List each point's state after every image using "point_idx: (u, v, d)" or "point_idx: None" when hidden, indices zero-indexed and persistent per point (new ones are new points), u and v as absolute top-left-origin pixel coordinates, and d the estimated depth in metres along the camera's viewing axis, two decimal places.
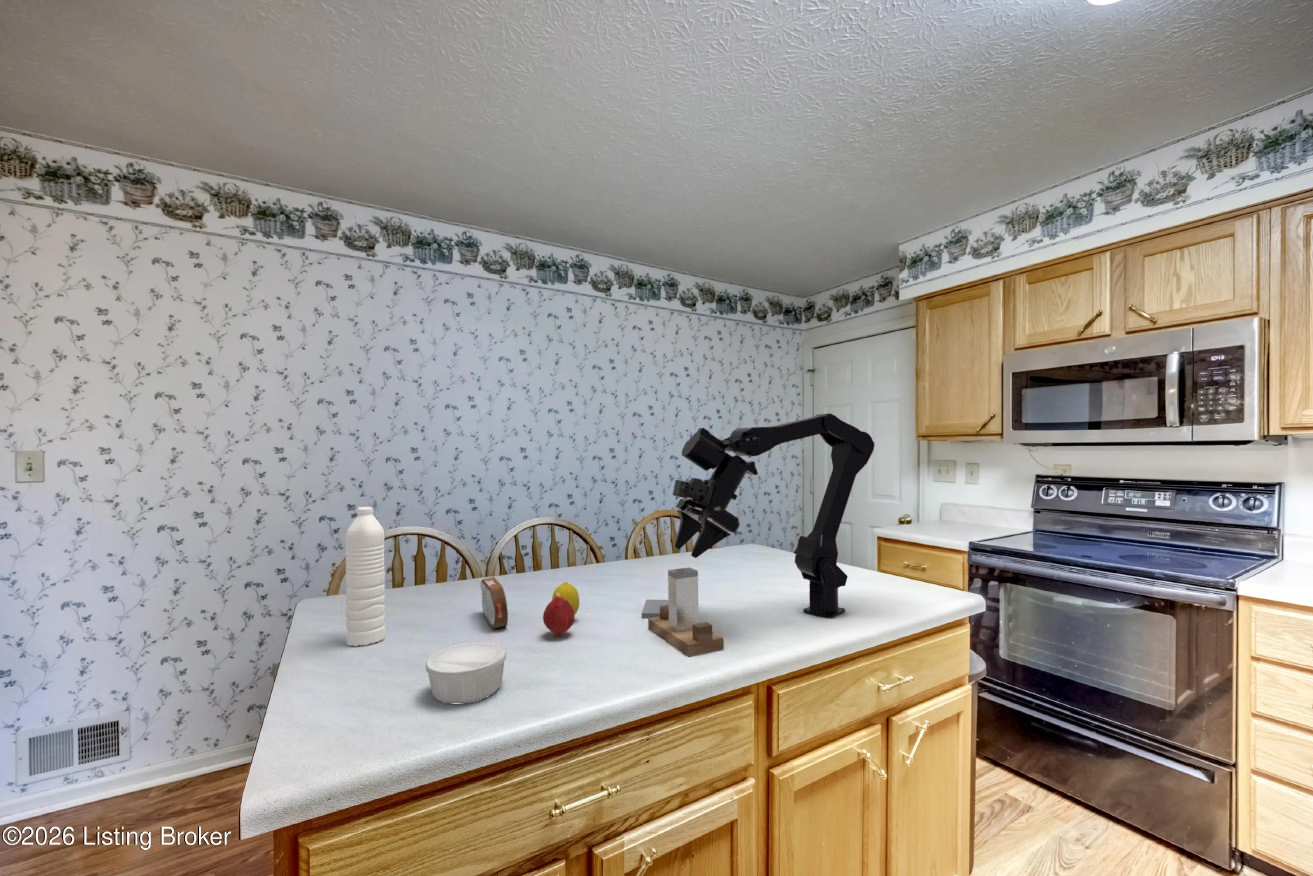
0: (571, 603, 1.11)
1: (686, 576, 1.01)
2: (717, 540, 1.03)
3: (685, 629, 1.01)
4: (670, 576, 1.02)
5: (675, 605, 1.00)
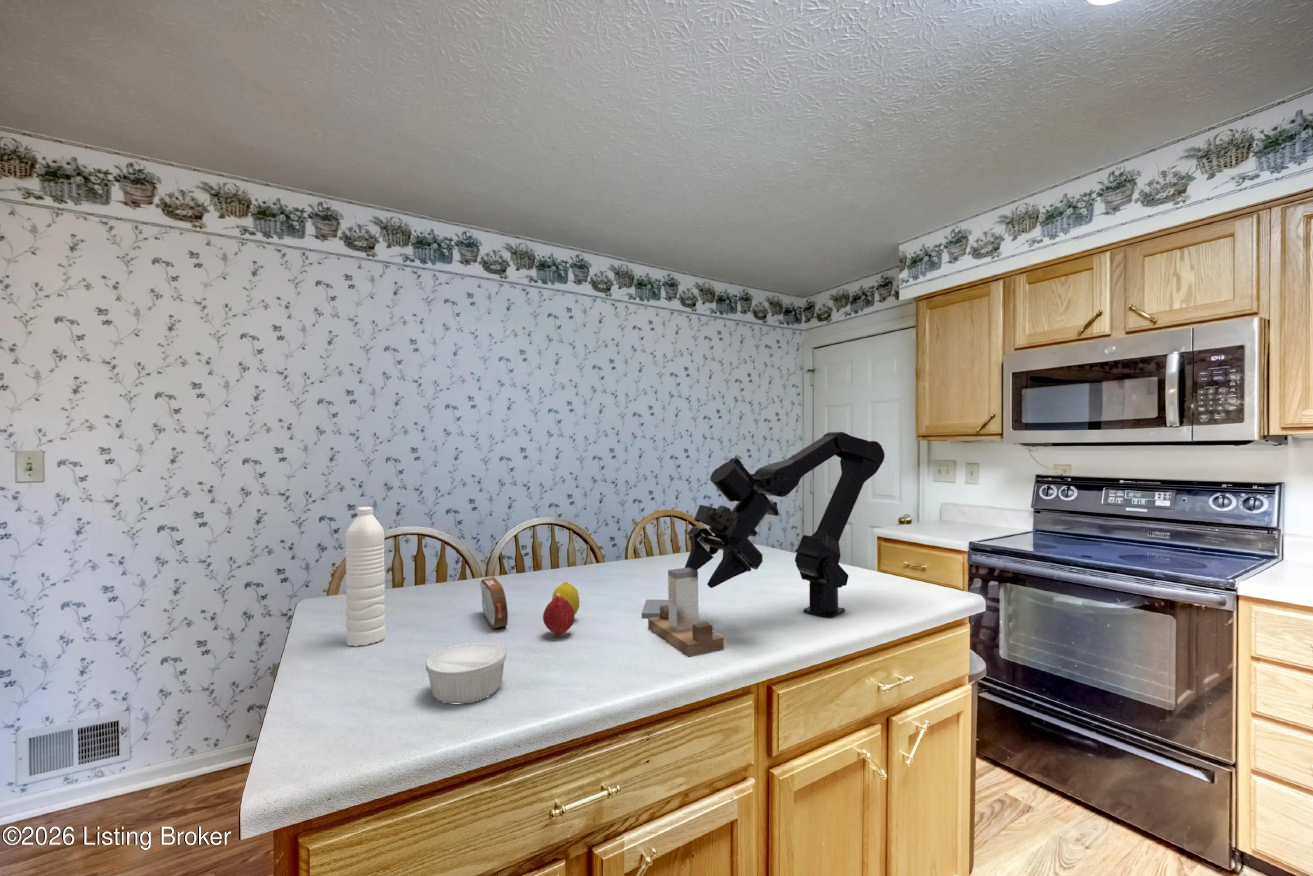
0: (571, 603, 1.11)
1: (686, 576, 1.01)
2: (736, 573, 1.00)
3: (685, 629, 1.01)
4: (670, 576, 1.02)
5: (675, 605, 1.00)
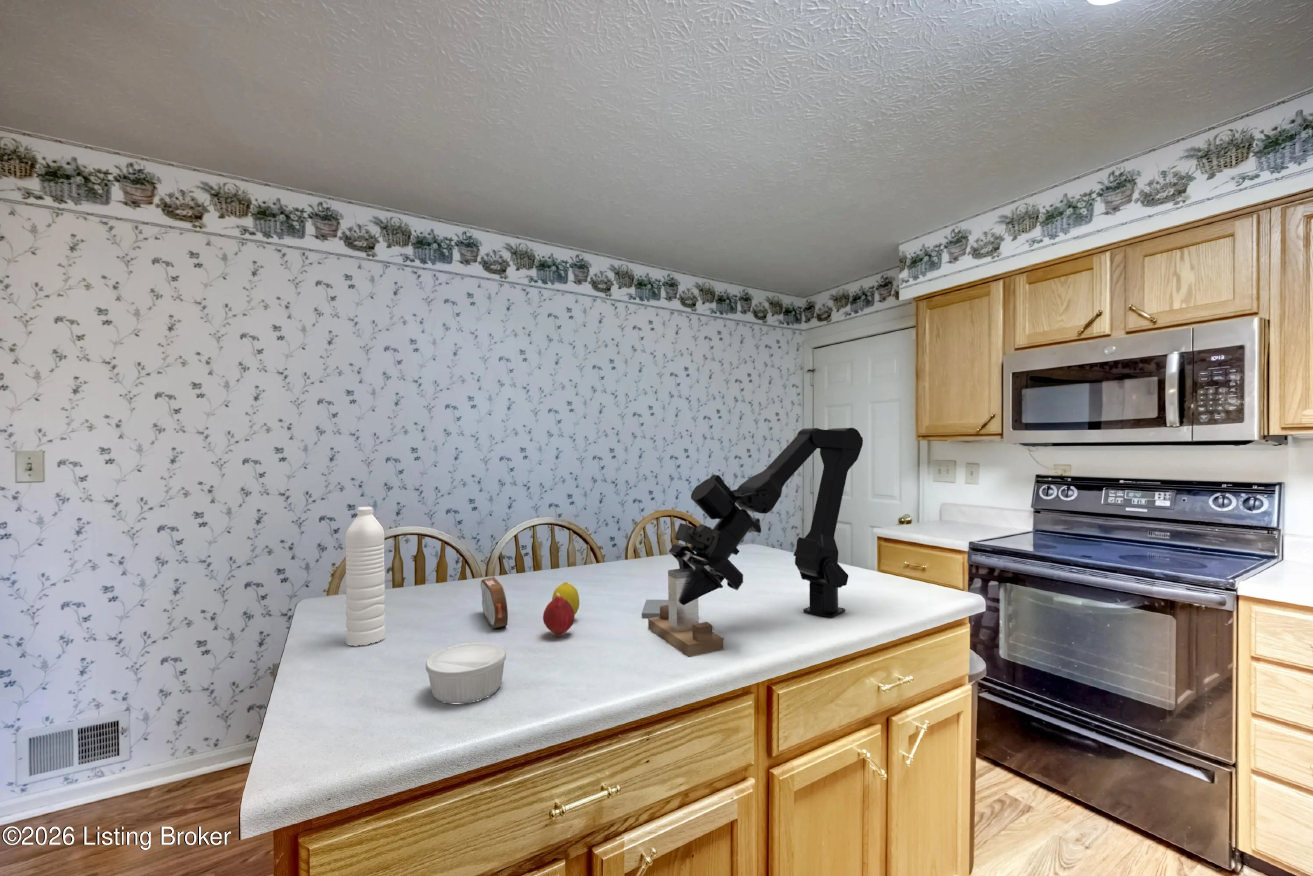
0: (571, 603, 1.11)
1: (686, 576, 1.01)
2: (708, 590, 1.01)
3: (685, 629, 1.01)
4: (670, 576, 1.02)
5: (675, 605, 1.00)
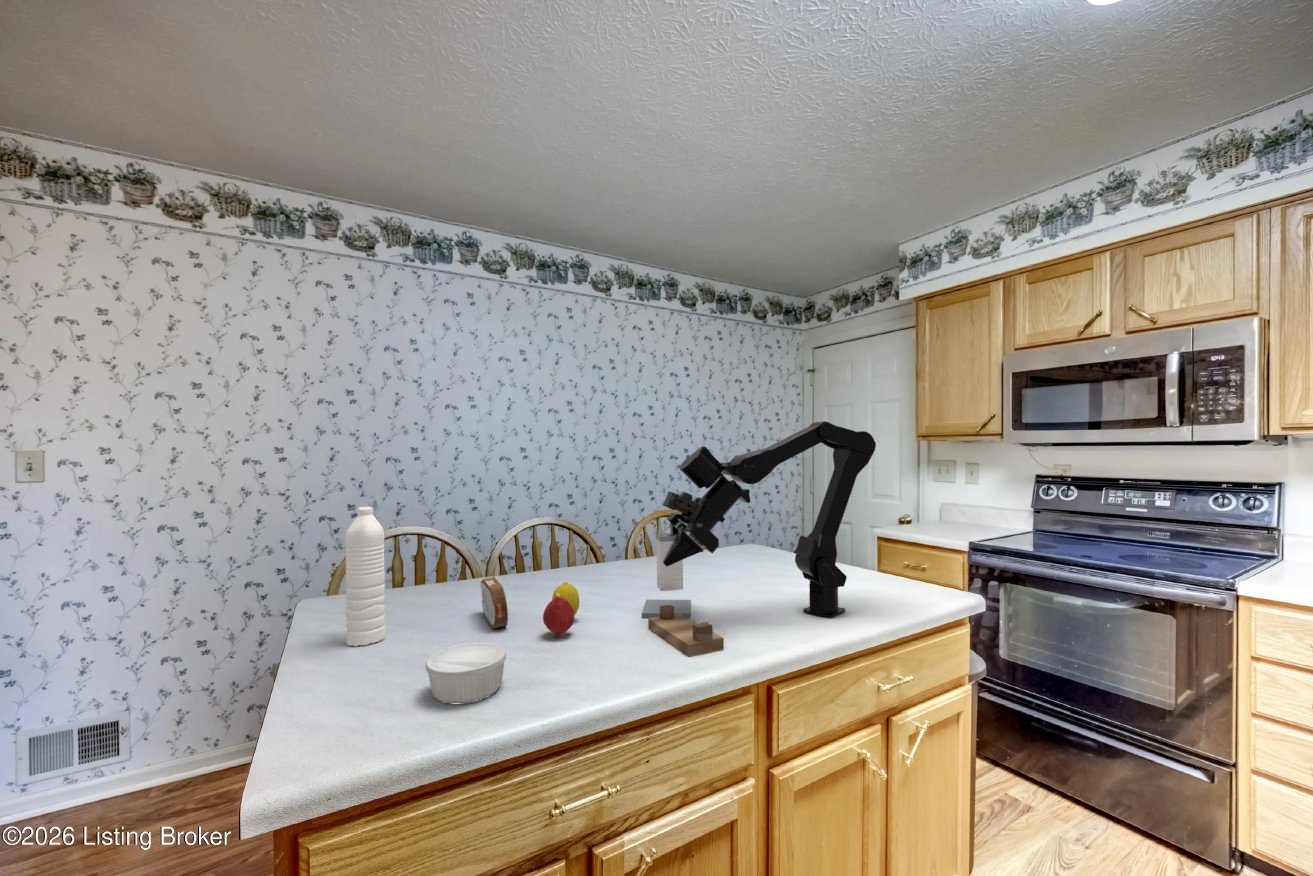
0: (571, 603, 1.11)
1: (670, 540, 1.08)
2: (690, 554, 1.07)
3: (669, 589, 1.08)
4: (657, 540, 1.10)
5: (659, 566, 1.08)
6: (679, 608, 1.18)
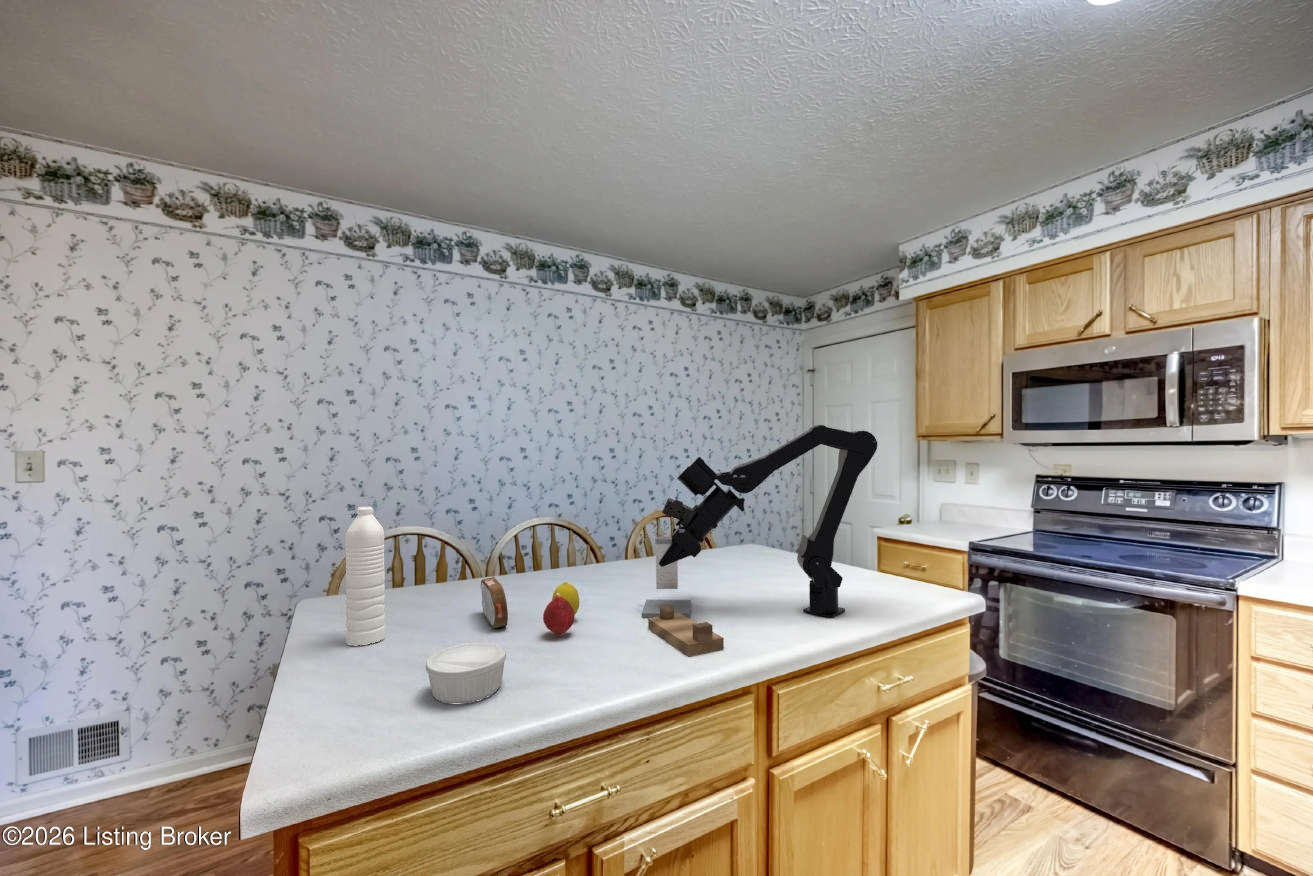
0: (571, 603, 1.11)
1: (665, 542, 1.18)
2: (682, 556, 1.16)
3: (664, 588, 1.18)
4: None
5: (656, 566, 1.18)
6: (679, 608, 1.18)
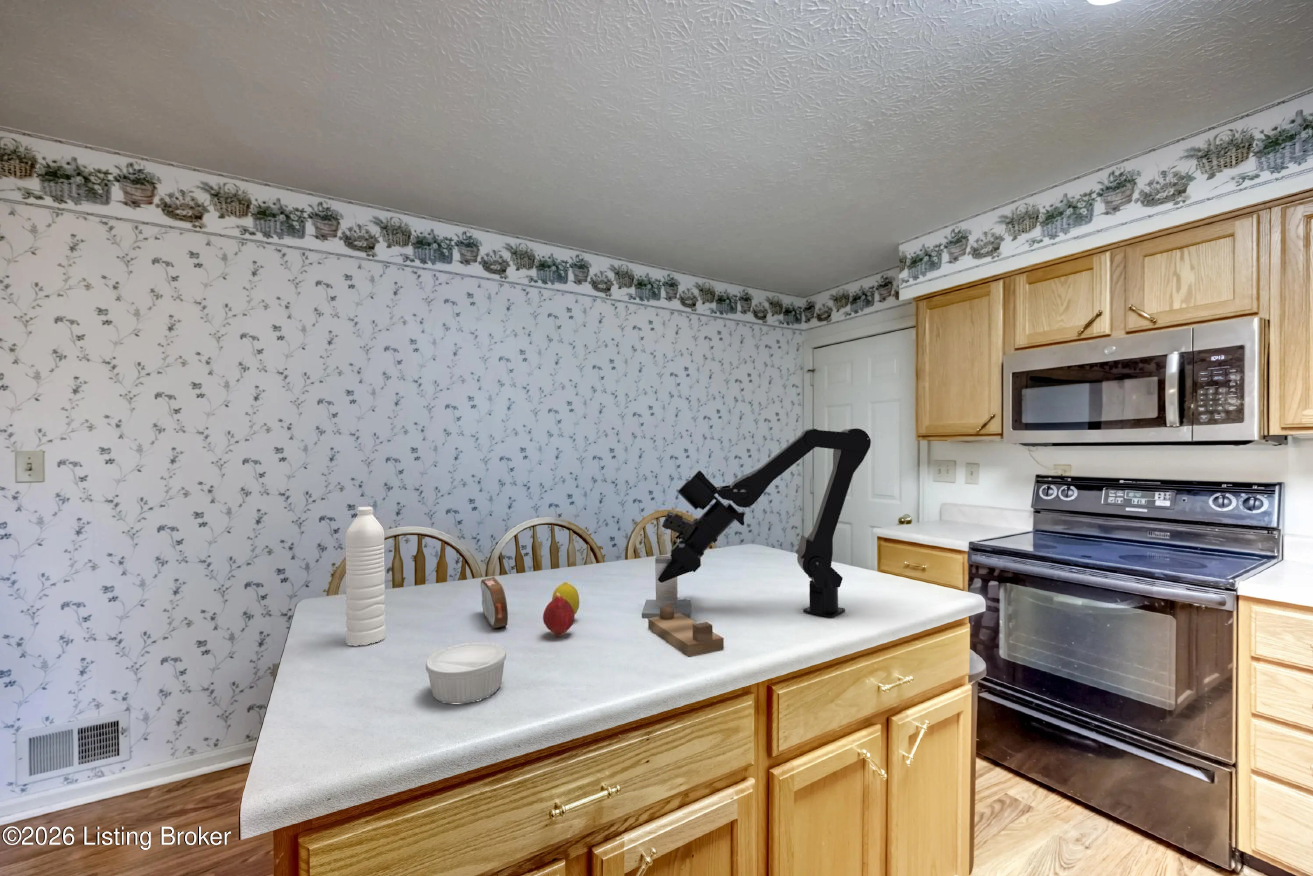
0: (571, 603, 1.11)
1: (665, 562, 1.18)
2: (681, 573, 1.14)
3: None
4: None
5: None
6: (679, 608, 1.18)
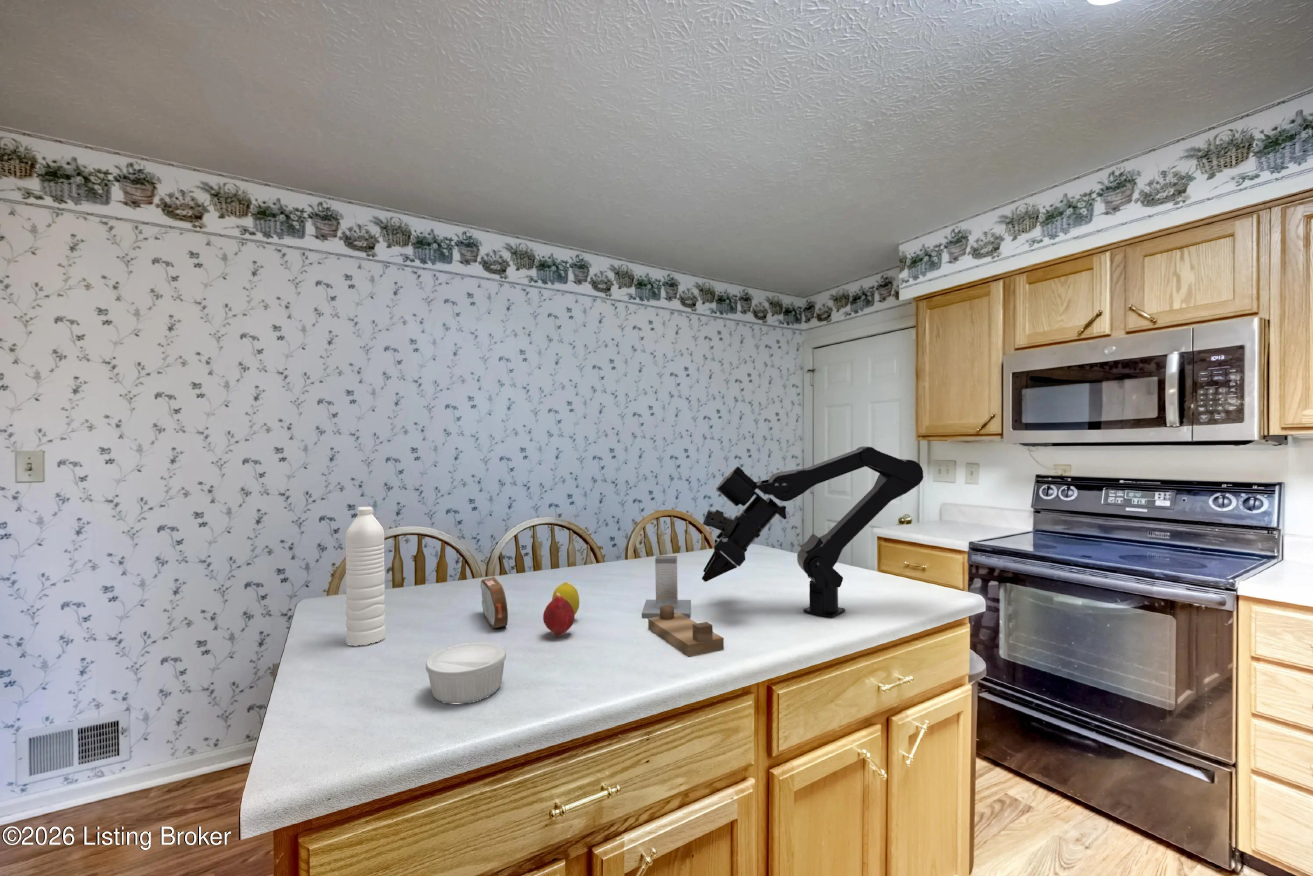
0: (571, 603, 1.11)
1: (665, 562, 1.18)
2: (726, 570, 1.11)
3: None
4: None
5: None
6: (679, 608, 1.18)
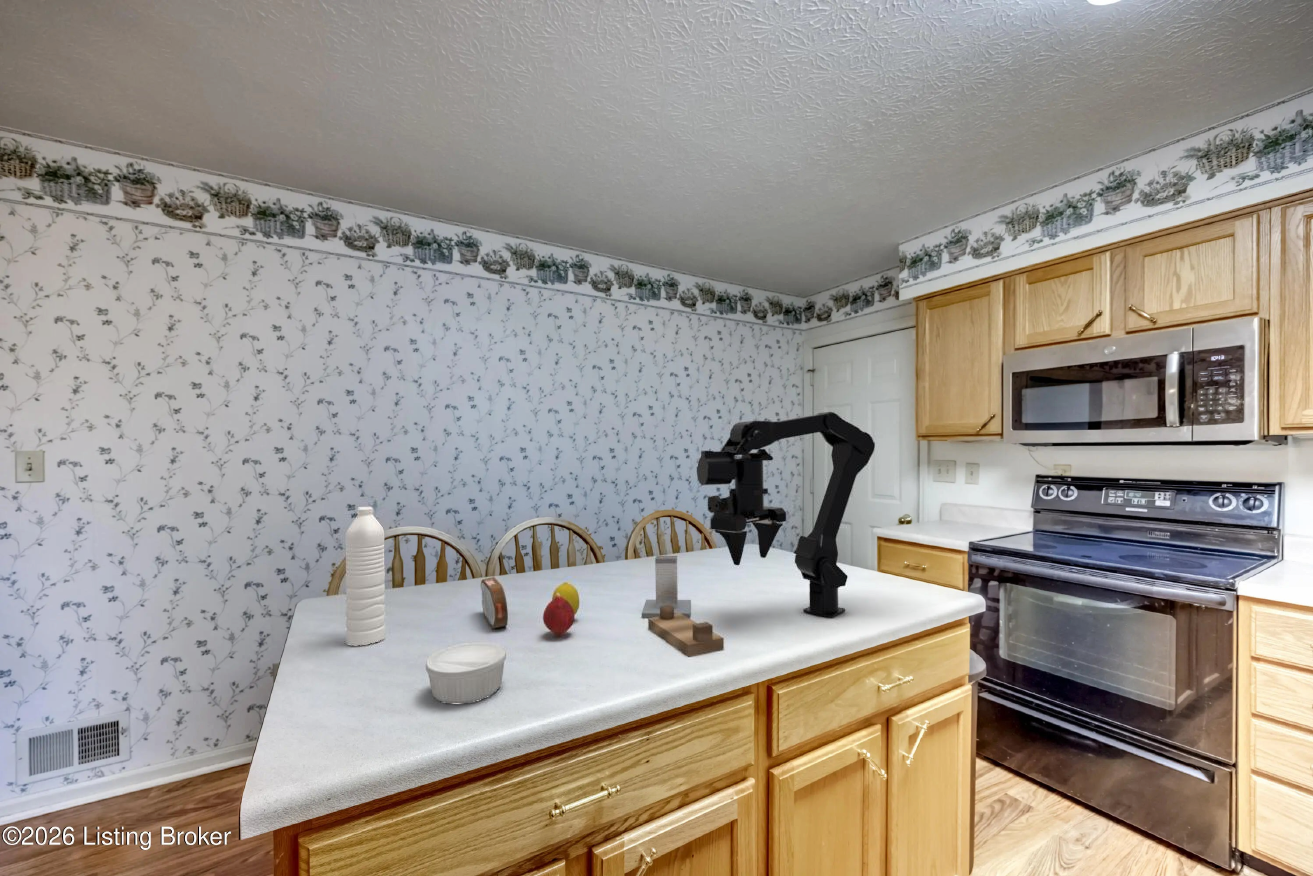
0: (571, 603, 1.11)
1: (665, 562, 1.18)
2: (739, 542, 1.06)
3: None
4: None
5: None
6: (679, 608, 1.18)
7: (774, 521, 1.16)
